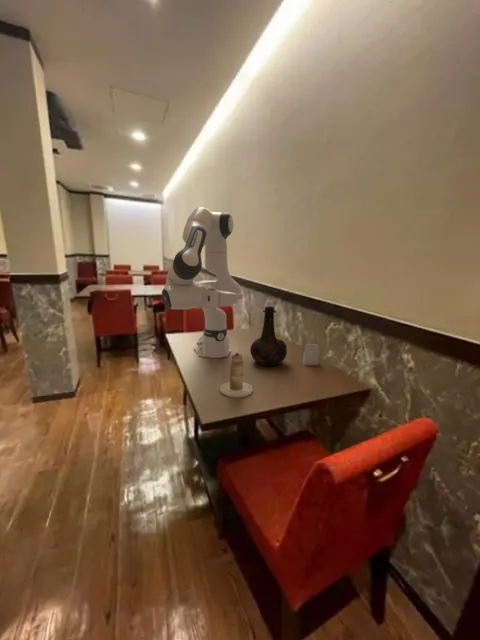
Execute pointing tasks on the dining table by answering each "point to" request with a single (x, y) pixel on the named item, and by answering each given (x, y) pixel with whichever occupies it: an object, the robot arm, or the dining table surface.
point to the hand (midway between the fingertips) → (235, 294)
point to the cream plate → (228, 392)
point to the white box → (311, 354)
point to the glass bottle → (268, 343)
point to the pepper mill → (236, 372)
